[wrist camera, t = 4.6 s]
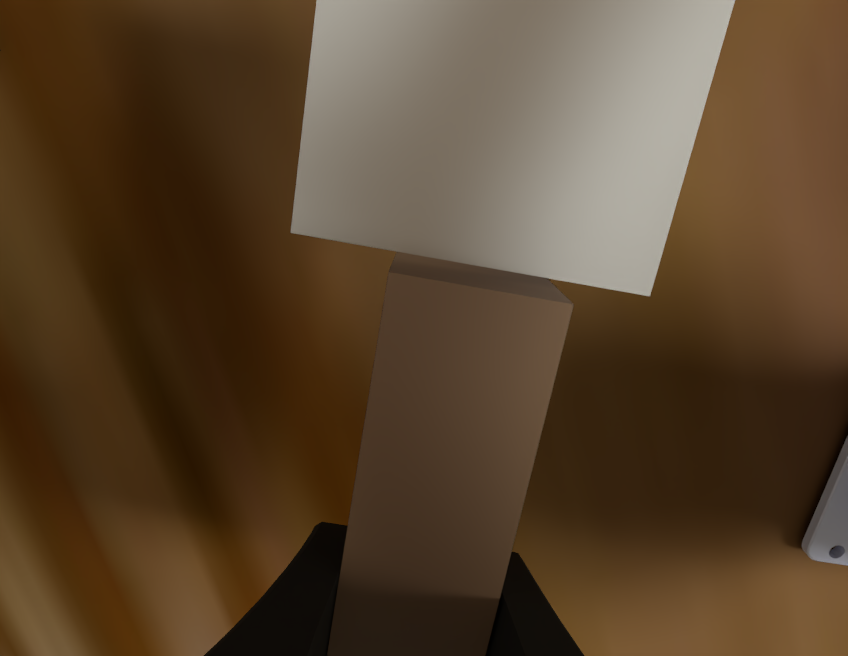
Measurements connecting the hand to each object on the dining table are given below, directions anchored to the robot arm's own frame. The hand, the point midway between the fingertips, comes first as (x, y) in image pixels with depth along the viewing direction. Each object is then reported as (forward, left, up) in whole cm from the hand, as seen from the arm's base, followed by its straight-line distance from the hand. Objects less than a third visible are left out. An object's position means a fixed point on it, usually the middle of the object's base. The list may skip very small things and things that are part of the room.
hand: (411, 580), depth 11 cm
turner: (0, -2, -2) cm, 3 cm away
